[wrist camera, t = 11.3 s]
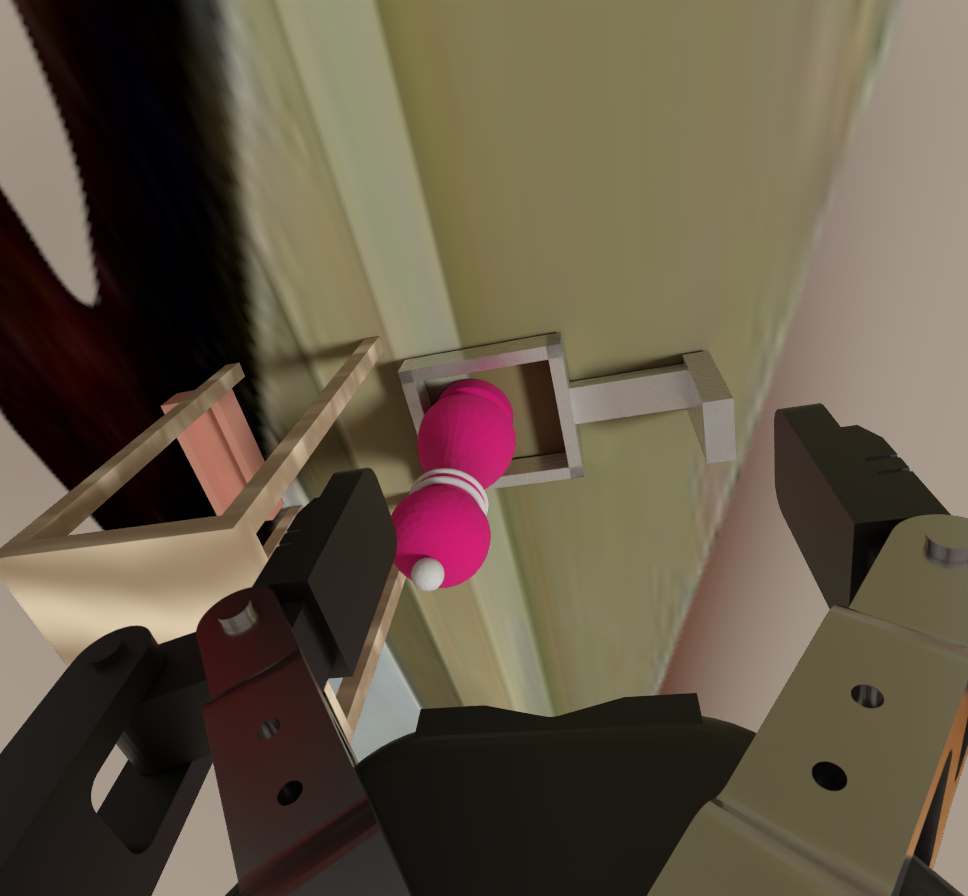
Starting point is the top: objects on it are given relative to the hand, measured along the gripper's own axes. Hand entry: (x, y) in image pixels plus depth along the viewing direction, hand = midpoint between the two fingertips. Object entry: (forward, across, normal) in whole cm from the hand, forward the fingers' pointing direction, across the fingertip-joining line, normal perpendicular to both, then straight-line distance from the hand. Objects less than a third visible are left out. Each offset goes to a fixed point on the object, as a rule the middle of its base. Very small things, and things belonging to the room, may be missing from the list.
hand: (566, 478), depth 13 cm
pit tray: (+34, +31, +14) cm, 48 cm away
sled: (+33, +3, +14) cm, 36 cm away
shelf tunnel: (+34, +22, +14) cm, 43 cm away
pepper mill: (+34, +10, +14) cm, 38 cm away
